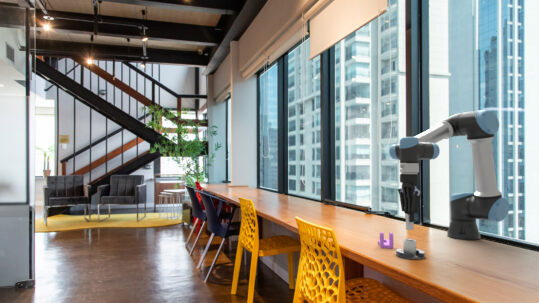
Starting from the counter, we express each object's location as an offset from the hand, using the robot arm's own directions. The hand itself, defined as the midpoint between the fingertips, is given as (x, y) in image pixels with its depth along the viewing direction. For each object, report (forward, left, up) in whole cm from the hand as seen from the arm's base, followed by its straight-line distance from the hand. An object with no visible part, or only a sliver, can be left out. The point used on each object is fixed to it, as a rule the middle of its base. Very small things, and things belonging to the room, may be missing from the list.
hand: (409, 229), depth 148 cm
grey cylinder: (0, 0, -11) cm, 11 cm away
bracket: (-1, -20, -12) cm, 23 cm away
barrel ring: (0, 0, -11) cm, 11 cm away
